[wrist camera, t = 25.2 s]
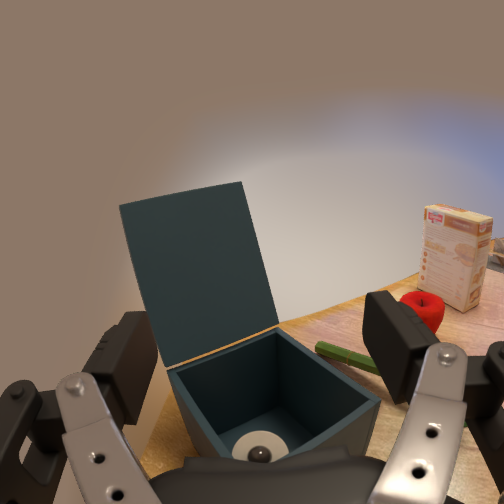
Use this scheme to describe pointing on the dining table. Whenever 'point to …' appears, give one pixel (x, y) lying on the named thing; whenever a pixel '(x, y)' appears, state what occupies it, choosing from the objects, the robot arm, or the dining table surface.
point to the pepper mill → (260, 447)
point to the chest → (272, 398)
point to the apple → (426, 307)
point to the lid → (198, 269)
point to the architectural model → (497, 256)
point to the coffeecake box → (454, 255)
